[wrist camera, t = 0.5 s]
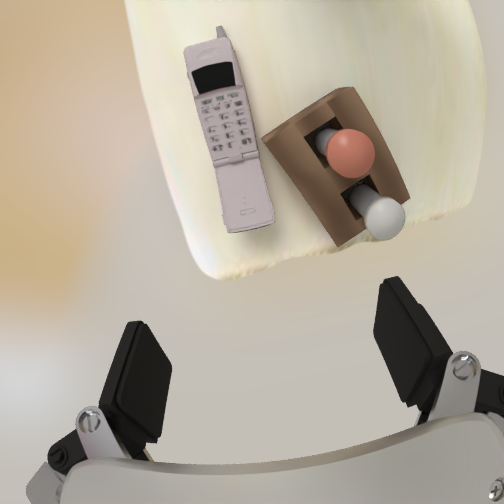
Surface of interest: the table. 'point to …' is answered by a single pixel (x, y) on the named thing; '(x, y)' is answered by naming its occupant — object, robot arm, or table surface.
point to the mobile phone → (229, 133)
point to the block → (322, 174)
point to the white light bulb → (378, 212)
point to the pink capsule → (346, 151)
